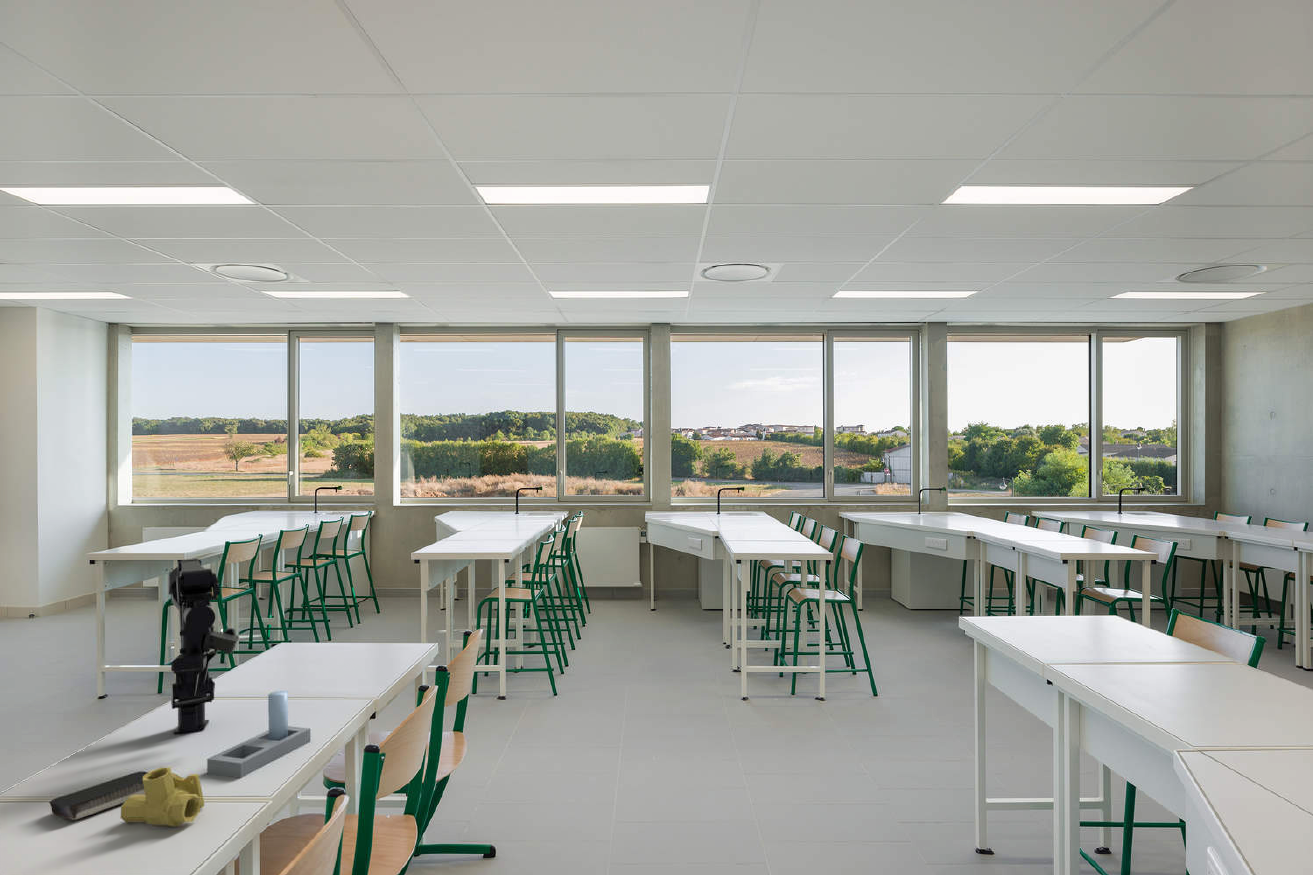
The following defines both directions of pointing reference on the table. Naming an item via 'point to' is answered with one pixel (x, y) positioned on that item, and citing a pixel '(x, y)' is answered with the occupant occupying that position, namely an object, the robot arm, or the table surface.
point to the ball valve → (165, 799)
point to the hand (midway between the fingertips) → (196, 690)
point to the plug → (278, 715)
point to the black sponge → (98, 796)
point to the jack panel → (256, 753)
